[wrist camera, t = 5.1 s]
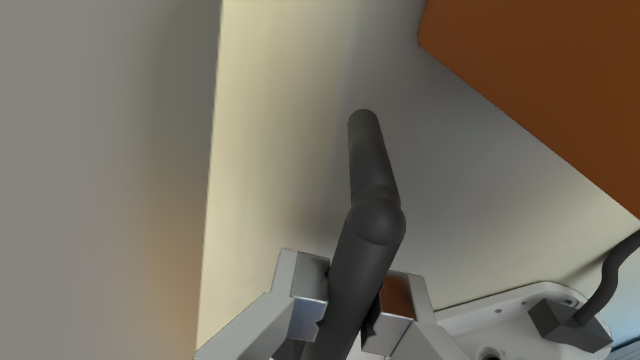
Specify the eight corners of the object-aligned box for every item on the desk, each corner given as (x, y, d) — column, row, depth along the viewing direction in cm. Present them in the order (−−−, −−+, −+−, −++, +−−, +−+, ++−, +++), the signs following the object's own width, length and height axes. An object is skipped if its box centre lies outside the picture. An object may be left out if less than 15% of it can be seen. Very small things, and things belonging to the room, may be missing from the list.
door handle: (334, 338, 21) (331, 479, 15) (263, 326, 21) (232, 464, 15) (424, 117, 12) (502, 239, 6) (306, 91, 12) (273, 194, 6)
